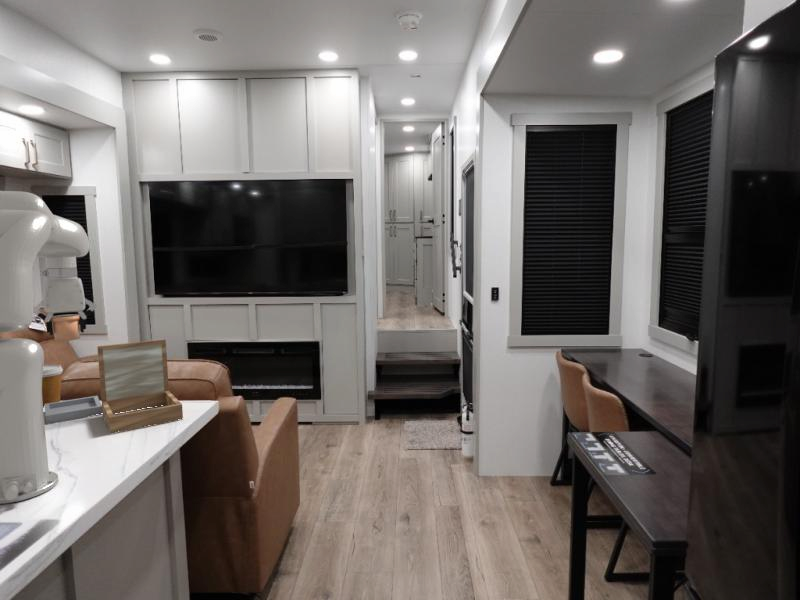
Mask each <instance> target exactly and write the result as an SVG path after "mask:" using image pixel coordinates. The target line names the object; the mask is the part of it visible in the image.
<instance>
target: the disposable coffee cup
mask: <svg viewBox="0 0 800 600" xmlns="http://www.w3.org/2000/svg"><path fill="white" fill-rule="evenodd" d="M63 371H64V368H63V366H62V365H60V364H47V365H44V366H43V376H42V402H43V406H45V405H44V404H48V403H54V402H60V401H61V389H62V373H63Z"/></svg>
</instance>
